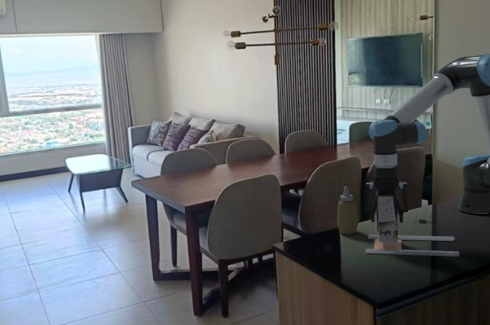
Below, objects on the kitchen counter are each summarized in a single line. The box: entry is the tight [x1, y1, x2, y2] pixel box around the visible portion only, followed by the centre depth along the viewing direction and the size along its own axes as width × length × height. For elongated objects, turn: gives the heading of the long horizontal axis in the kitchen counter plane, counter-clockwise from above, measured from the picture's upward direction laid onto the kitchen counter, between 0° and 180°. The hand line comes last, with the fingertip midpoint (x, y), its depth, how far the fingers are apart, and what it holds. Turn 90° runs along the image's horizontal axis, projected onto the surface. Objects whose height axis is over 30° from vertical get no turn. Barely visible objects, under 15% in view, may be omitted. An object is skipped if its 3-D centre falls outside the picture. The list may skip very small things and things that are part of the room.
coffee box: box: [375, 190, 399, 242], centre depth 171 cm, size 9×6×16 cm
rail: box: [365, 234, 460, 257], centre depth 171 cm, size 29×16×1 cm, turn 73°
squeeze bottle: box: [336, 185, 359, 235], centre depth 189 cm, size 8×8×18 cm
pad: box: [373, 239, 402, 250], centre depth 173 cm, size 9×11×1 cm
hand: (387, 231), depth 172 cm, fingers closed on coffee box, 7 cm apart
